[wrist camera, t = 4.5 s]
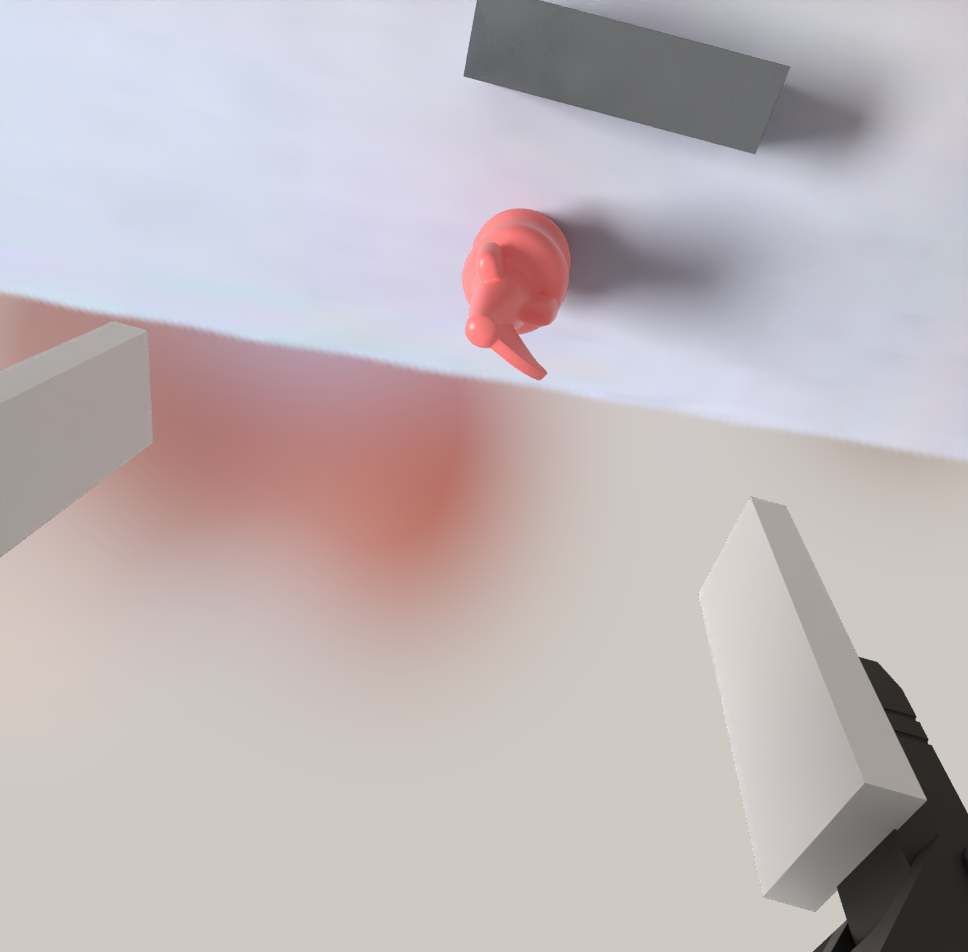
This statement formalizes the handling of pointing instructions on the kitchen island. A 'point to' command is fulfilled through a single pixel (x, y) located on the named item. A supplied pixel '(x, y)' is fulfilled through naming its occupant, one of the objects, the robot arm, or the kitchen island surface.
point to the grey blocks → (624, 71)
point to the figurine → (515, 283)
